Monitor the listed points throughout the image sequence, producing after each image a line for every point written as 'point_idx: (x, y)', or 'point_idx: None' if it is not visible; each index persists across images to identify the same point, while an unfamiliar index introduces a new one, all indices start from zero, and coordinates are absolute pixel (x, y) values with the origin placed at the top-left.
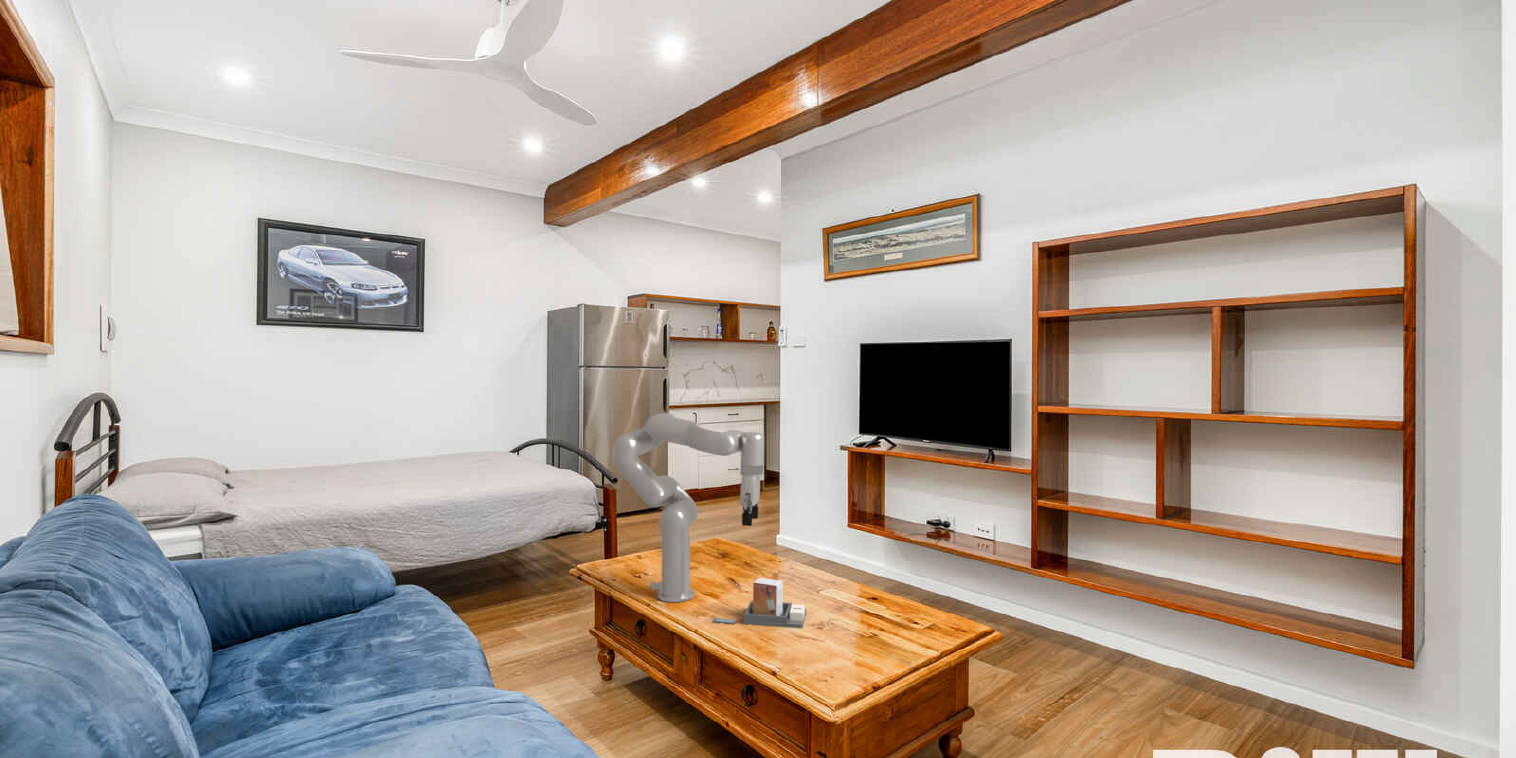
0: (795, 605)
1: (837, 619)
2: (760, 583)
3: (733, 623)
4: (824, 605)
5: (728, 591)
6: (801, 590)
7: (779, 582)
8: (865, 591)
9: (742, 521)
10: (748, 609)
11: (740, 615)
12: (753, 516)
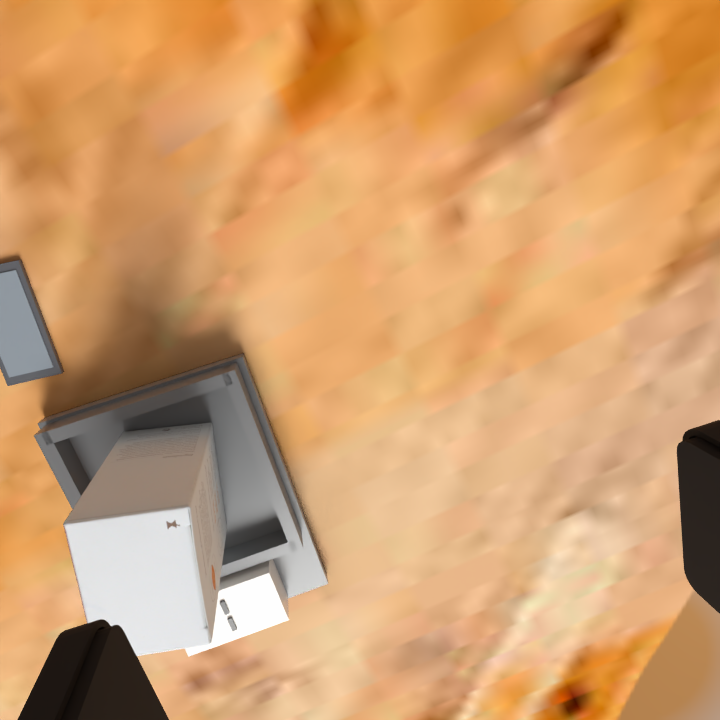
0: (260, 591)
1: (312, 693)
2: (74, 568)
3: (7, 381)
4: (430, 598)
5: (415, 121)
6: (564, 446)
7: (162, 648)
8: (635, 653)
9: (35, 704)
10: (110, 419)
11: (136, 351)
12: (710, 547)
